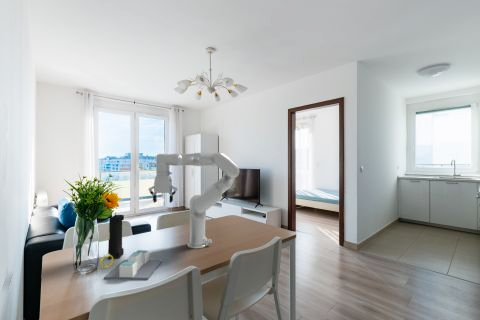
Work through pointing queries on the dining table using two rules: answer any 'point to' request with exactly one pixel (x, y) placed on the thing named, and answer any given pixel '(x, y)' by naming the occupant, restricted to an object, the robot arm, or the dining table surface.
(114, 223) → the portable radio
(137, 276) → the board
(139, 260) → the module block
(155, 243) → the dining table surface
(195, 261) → the dining table surface
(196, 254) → the dining table surface
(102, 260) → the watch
